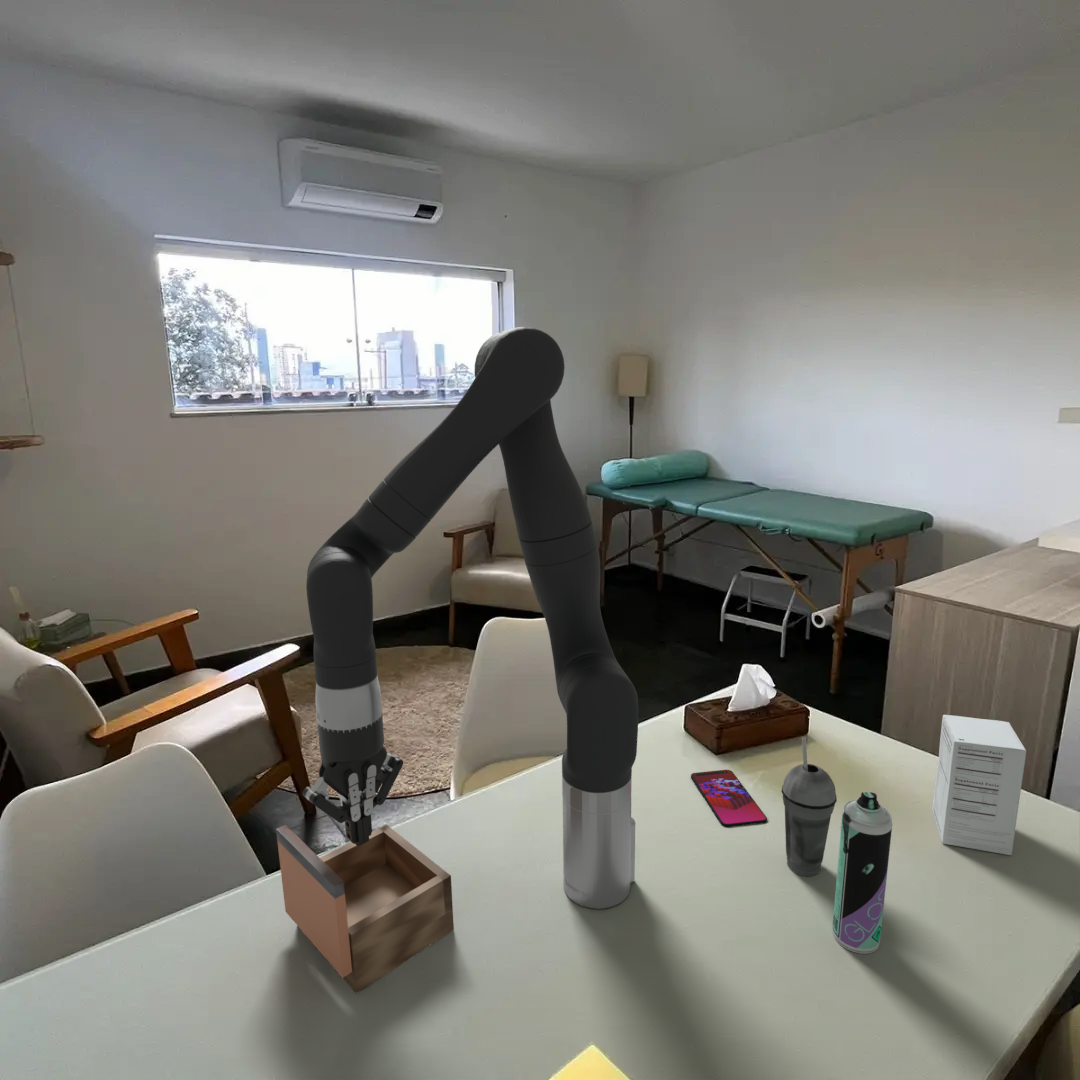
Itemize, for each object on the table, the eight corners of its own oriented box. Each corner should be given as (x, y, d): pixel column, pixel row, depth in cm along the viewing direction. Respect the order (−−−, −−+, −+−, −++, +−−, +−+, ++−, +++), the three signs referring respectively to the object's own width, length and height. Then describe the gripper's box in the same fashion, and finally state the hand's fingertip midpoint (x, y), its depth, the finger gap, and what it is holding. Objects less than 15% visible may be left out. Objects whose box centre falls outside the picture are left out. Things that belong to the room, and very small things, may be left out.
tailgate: (294, 907, 94) (285, 824, 91) (352, 971, 84) (343, 881, 81) (285, 911, 93) (276, 828, 91) (342, 977, 83) (333, 886, 80)
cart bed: (390, 873, 105) (386, 824, 103) (453, 929, 94) (450, 875, 92) (297, 925, 95) (291, 871, 93) (356, 993, 85) (351, 934, 83)
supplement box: (1013, 857, 106) (1029, 751, 102) (941, 845, 108) (954, 741, 105) (996, 819, 114) (1010, 720, 110) (930, 808, 117) (941, 712, 113)
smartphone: (722, 825, 113) (689, 772, 128) (722, 830, 114) (688, 777, 128) (769, 820, 115) (731, 768, 129) (769, 825, 115) (730, 773, 129)
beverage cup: (835, 886, 100) (846, 754, 96) (779, 879, 102) (788, 749, 97) (826, 852, 107) (836, 727, 103) (774, 846, 109) (781, 723, 104)
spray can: (858, 960, 88) (873, 812, 83) (822, 930, 93) (834, 789, 88) (889, 943, 90) (905, 799, 86) (852, 915, 95) (865, 777, 90)
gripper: (312, 743, 80) (325, 881, 84) (414, 705, 89) (421, 831, 93) (282, 720, 85) (295, 851, 89) (381, 686, 94) (389, 806, 98)
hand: (359, 840), depth 91 cm, fingers closed
